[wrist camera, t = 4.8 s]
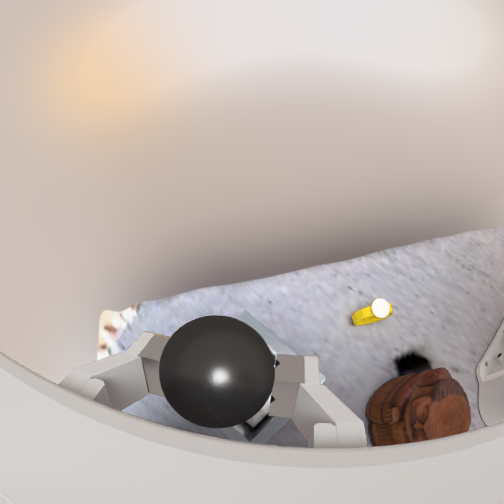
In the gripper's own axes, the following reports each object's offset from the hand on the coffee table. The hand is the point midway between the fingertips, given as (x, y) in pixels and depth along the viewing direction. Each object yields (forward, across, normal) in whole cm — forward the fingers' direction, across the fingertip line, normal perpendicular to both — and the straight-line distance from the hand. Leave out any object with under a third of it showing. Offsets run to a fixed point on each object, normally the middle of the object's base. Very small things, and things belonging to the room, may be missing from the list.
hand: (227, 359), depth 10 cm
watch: (+29, -15, +14) cm, 35 cm away
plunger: (+13, 0, +14) cm, 19 cm away
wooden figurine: (+18, -19, +24) cm, 36 cm away
